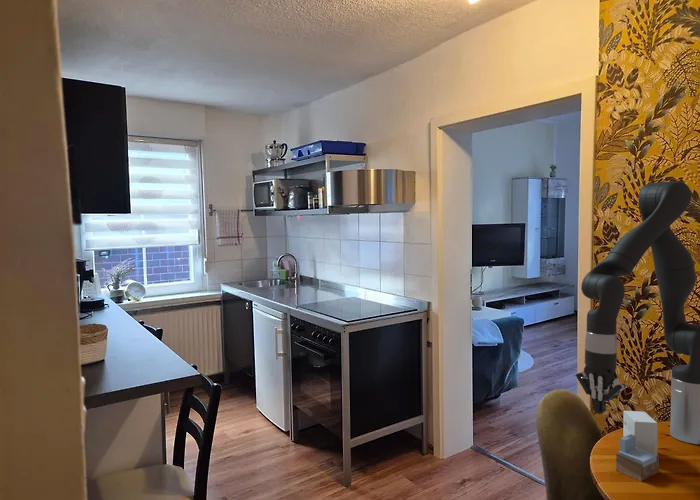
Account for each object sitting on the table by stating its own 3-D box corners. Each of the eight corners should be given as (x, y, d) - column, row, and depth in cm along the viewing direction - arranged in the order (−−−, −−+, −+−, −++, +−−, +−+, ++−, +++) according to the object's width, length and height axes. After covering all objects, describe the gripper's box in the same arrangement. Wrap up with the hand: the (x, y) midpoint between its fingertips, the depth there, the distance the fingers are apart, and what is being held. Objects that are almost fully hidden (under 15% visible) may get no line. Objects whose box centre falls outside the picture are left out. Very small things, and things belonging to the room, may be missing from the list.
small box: (657, 462, 121) (658, 423, 121) (633, 460, 122) (634, 421, 122) (644, 448, 129) (645, 411, 129) (622, 446, 130) (623, 409, 130)
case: (633, 462, 122) (634, 446, 121) (658, 472, 116) (658, 455, 116) (616, 470, 118) (616, 454, 117) (640, 481, 112) (641, 464, 112)
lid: (631, 451, 121) (632, 433, 121) (656, 460, 116) (657, 442, 116) (618, 456, 118) (618, 439, 118) (643, 467, 113) (643, 448, 113)
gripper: (634, 352, 121) (632, 418, 121) (586, 342, 132) (584, 402, 133) (617, 356, 117) (615, 424, 117) (569, 345, 128) (567, 407, 129)
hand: (599, 412), depth 125 cm, fingers closed
